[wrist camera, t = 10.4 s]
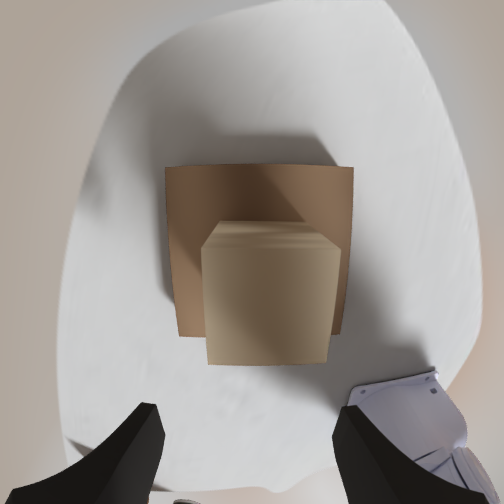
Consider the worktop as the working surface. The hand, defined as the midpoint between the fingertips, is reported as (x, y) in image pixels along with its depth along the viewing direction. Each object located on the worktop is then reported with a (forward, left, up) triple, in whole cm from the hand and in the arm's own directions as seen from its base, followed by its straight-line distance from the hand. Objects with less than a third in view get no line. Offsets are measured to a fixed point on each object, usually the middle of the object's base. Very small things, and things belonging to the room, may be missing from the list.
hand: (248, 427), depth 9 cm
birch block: (-1, -4, -7) cm, 9 cm away
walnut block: (-1, -5, -10) cm, 11 cm away
